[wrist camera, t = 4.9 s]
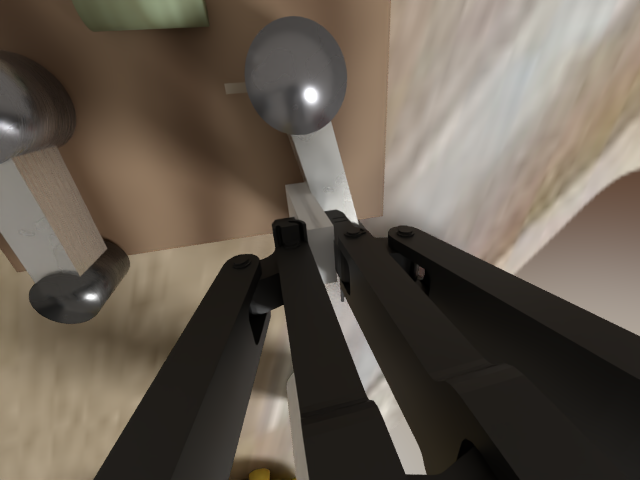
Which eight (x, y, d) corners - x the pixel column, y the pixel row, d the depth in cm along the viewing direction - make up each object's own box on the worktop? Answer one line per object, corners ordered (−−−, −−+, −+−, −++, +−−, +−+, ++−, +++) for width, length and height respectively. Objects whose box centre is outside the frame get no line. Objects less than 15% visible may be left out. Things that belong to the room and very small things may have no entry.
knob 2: (232, 51, 14) (225, 37, 11) (313, 22, 14) (331, 0, 11) (310, 250, 21) (321, 282, 17) (365, 229, 21) (388, 256, 17)
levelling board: (38, 255, 19) (-7, 289, 16) (-133, -12, 12) (-273, -51, 9) (372, 206, 23) (393, 225, 19) (377, -23, 16) (409, -54, 13)
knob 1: (-65, 52, 12) (-193, 35, 9) (48, 47, 13) (-29, 29, 9) (76, 286, 18) (33, 331, 15) (148, 274, 19) (123, 314, 15)
